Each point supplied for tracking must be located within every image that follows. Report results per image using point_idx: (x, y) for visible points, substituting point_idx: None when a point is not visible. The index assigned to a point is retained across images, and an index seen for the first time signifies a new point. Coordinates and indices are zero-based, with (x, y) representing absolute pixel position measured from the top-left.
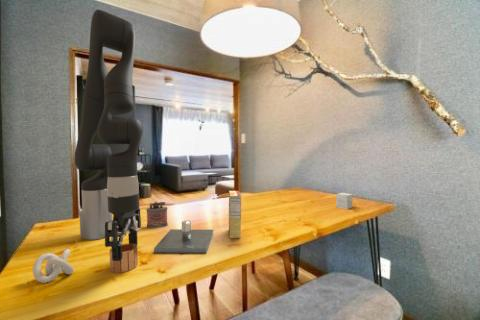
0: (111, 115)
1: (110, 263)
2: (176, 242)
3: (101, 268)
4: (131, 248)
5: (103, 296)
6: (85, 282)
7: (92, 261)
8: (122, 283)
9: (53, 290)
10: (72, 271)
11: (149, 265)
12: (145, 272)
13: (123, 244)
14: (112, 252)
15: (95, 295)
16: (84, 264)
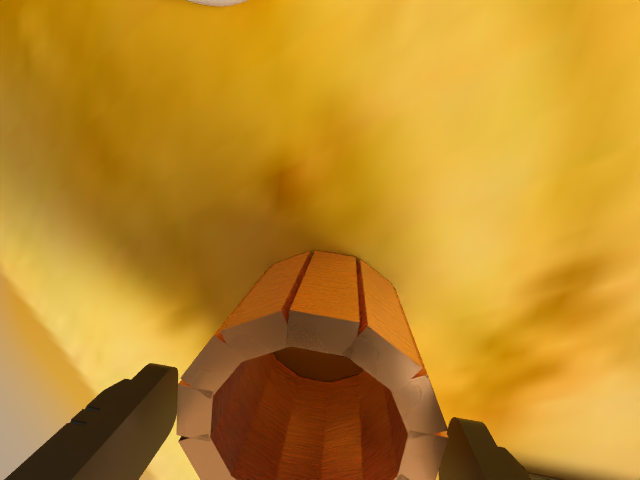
0: None
1: (250, 290)
2: None
3: (315, 190)
4: (382, 447)
5: (43, 320)
6: (150, 168)
7: (450, 55)
8: None
9: (64, 5)
10: (212, 5)
11: None
12: None
13: (415, 410)
14: (55, 440)
15: (46, 281)
16: (405, 9)
